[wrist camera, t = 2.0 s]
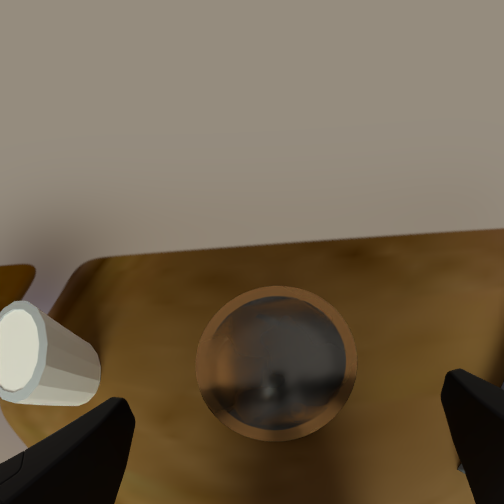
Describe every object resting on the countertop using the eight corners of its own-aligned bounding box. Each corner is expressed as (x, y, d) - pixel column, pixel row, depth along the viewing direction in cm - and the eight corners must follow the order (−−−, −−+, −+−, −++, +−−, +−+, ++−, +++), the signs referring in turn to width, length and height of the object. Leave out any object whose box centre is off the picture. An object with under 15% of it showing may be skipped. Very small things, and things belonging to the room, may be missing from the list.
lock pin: (296, 453, 17) (293, 515, 6) (223, 398, 19) (125, 372, 8) (354, 379, 18) (429, 330, 7) (280, 328, 21) (257, 222, 10)
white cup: (81, 430, 18) (15, 425, 12) (34, 377, 21) (-26, 356, 15) (123, 363, 21) (63, 338, 15) (70, 315, 23) (15, 281, 17)
